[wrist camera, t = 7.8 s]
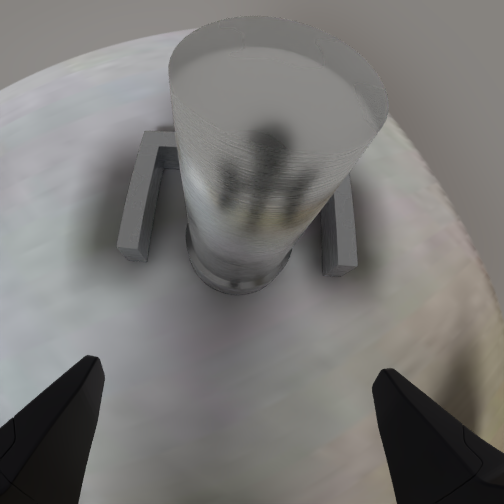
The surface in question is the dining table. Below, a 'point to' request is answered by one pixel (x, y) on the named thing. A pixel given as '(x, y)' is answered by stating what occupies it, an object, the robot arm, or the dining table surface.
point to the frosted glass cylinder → (264, 139)
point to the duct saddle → (166, 156)
